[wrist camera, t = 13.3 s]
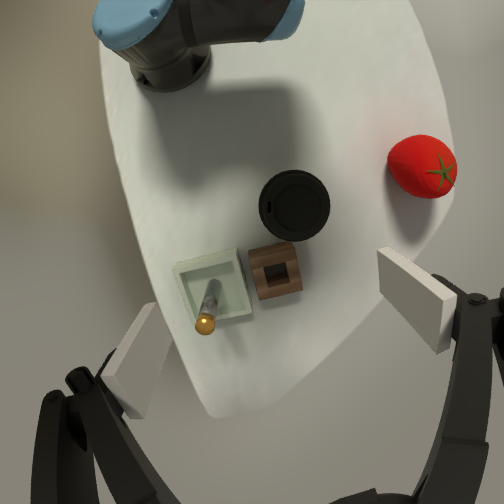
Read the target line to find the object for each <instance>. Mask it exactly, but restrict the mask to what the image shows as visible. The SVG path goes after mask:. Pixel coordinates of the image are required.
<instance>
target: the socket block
mask: <svg viewBox="0 0 504 504" xmlns="http://www.w3.org/2000/svg"><path fill="white" fill-rule="evenodd" d="M249 262H250V266H251V270H252V274H253V277H254V281H255V285H256V289H257V292H258V296H259V300H263V299H268V298H272V297H276V296H280V295H284V294H289V293H293V292H297V291H301V290H303V287H302V282H301V277H300V272H299V267H298V262H297V257H296V252H295V248H294V246H293V244H292V242H291V241H287V242H283V243H278V244H274V245H270V246H266V247H262V248H258V249H253V250H249ZM283 262H284V263H285V268H286V273H282V274H278V275H273V276H269V277H266V274H265V270H264V267H267V266H271V265H275V264H279V263H283Z"/></svg>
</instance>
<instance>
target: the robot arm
mask: <svg viewBox="0 0 504 504" xmlns="http://www.w3.org/2000/svg"><path fill="white" fill-rule="evenodd" d="M304 6H305V1H304V0H100V1H99V3H98V4H97V6H96V9H95V11H94V14H93V20H92V27H93V30H94V33H95V35H96V36H97V37H98V38H99V39H100V40H101V41H102V43H103V44H104V45H105V47H107V48H109V49H111V50H112V51H113V52H115V53H116V54H118V55H119V56H120V57H122V58H123V59H125V60H126V61H127V62H129V65H130V70H131V73H132V75H133V77H134V78H135V79H136V81H137V82H138V83H140V84H141V85H142V86H144V87H145V88H147V89H149V90H152V91H155V92H173V91H177V90H180V89H182V88H185V87H187V86H188V85H190V84H192V83H193V82H194V81H196V80H197V79H198V78H199V77H200V76H201V75H202V73H203V72H204V71H205V69H206V67H207V66H208V63H209V60H210V56H211V48H210V45H215V44H225V43H239V42H265V41H271V40H283V39H287V38H289V37H290V36H292V35H293V34H294V32H295V31H296V30H297V28H298V26H299V24H300V21H301V18H302V15H303V11H304ZM377 256H378V268H379V283H380V292H381V293H382V294H383V295H384V297H385V298H386V299H387V300H388V301H389V302H390V303H391V304H392V305H393V306H394V307H395V308H396V309H397V311H398V312H399V313H400V314H401V315H402V316H403V317H404V318H405V319H406V320H407V321H408V323H409V324H410V325H411V326H412V327H413V328H414V329H415V330H416V332H417V333H418V334H419V335H420V336H421V337H422V338H423V340H424V341H425V342H426V343H427V344H428V345H429V346H430V348H431V349H432V350H433V351H434V352H435V353H436V354H438V353H441V352H443V351H445V350H447V349H449V348H450V343H451V337H452V338H453V339H454V340H455V341H456V346H455V351H454V355H453V360H452V361H453V365H452V371H451V376H450V381H449V386H448V391H447V396H446V400H445V404H444V409H443V412H442V416H441V420H440V423H439V427H438V430H437V433H436V437H435V440H434V443H433V446H432V449H431V452H430V454H429V458H428V460H427V463H426V465H425V468H424V470H423V473H422V476H421V478H420V480H419V482H418V484H417V486H416V488H415V490H414V492H413V494H412V496H409V495H404V494H395V493H385V494H377V492H376V489H375V488H373V489H370V490H367V491H364V492H361V493H357V494H354V495H351V496H347V497H344V498H340V499H338V500H336V501H334V502H332V503H330V504H474V503H475V500H476V497H477V494H478V491H479V487H480V484H481V480H482V477H483V473H484V469H485V464H486V460H487V455H488V449H489V444H488V442H485V437H486V431H487V424H488V417H489V409H490V399H491V386H492V385H491V384H492V347H493V350H494V354H495V357H496V360H497V363H498V367H499V371H500V374H501V378H502V381H503V386H504V288H502V289H501V292H500V298H497V299H492V300H488V298H487V297H486V296H485V295H482V294H479V293H471V294H466V293H465V292H464V291H462V290H461V289H459V288H458V287H456V286H455V285H453V284H452V283H451V282H448V280H446V279H445V278H444V277H442V276H439V275H436V274H432V275H429V274H428V273H426V272H425V271H424V270H422V269H421V268H419V267H418V266H416V265H415V264H413V263H412V262H411V261H409V260H408V259H406V258H405V257H403V256H402V255H400V254H399V253H397V252H396V251H394V250H393V249H391V248H390V247H385V248H381V249H378V250H377ZM171 342H172V338H171V336H170V333H169V331H168V329H167V327H166V324H165V322H164V320H163V317H162V315H161V313H160V310H159V308H158V305H157V303H156V302H154V303H149V304H145V305H144V307H143V308H142V310H141V311H140V313H139V314H138V316H137V317H136V319H135V320H134V322H133V323H132V325H131V327H130V328H129V330H128V331H127V333H126V334H125V336H124V338H123V339H122V341H121V343H120V344H119V346H118V348H115V349H114V350H113V351H112V352H111V353H110V354H109V355H108V356H107V358H106V360H105V362H104V363H103V365H102V367H101V368H100V369H99V371H98V373H97V374H96V376H95V378H94V377H93V375H92V374H91V373H90V371H89V369H88V368H87V367H84V366H82V367H78V368H76V369H74V370H72V371H71V372H70V373H69V374H68V375H67V376H66V378H65V382H66V383H67V385H68V386H69V388H70V389H71V391H72V392H73V394H74V395H72V396H68V397H65V395H64V394H63V392H62V391H61V390H53V391H50V392H49V393H47V394H46V396H45V397H44V399H43V401H42V405H41V410H40V415H39V421H38V427H37V433H36V439H35V447H34V455H33V465H32V477H31V504H100V503H99V498H98V491H97V484H96V476H95V468H94V457H93V453H94V456H95V458H96V461H97V463H98V465H99V468H100V470H101V472H102V475H103V477H104V479H105V481H106V484H107V486H108V488H109V490H110V492H111V494H112V496H113V498H114V500H115V502H116V504H181V503H180V502H179V501H178V499H177V498H176V497H175V496H174V494H173V493H172V492H171V491H170V489H169V488H168V487H167V485H166V484H165V483H164V481H163V480H162V478H161V477H160V476H159V474H158V473H157V472H156V470H155V469H154V467H153V466H152V464H151V463H150V461H149V460H148V458H147V457H146V455H145V454H144V452H143V451H142V449H141V447H140V446H139V444H138V443H137V441H136V440H135V438H134V436H133V434H132V433H131V431H130V429H129V428H128V426H127V424H126V422H125V421H124V419H123V418H122V414H123V412H125V413H126V414H127V416H128V417H129V418H130V419H144V417H145V414H146V411H147V408H148V405H149V403H150V400H151V397H152V394H153V391H154V388H155V386H156V383H157V380H158V377H159V374H160V372H161V369H162V366H163V364H164V361H165V358H166V355H167V353H168V350H169V348H170V345H171Z"/></svg>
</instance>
